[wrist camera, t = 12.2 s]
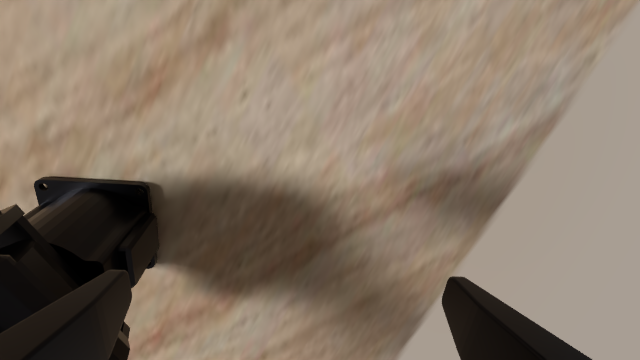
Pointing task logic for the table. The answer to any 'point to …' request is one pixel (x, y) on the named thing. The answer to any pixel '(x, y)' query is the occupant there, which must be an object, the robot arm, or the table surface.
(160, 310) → the table surface
